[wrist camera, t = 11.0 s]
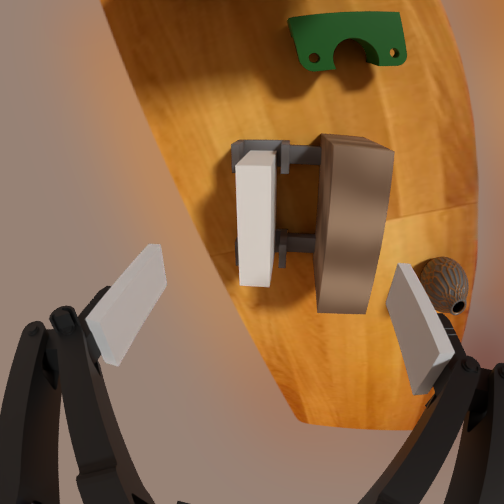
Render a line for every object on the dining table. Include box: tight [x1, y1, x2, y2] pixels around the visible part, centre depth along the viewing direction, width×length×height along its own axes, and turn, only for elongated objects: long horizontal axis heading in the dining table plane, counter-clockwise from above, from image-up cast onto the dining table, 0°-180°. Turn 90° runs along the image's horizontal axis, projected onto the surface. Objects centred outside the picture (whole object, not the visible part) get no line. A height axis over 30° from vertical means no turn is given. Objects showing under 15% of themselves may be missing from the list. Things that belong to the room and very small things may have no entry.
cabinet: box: [231, 134, 394, 314], centre depth 30 cm, size 16×14×11 cm
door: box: [235, 150, 277, 287], centre depth 31 cm, size 12×4×9 cm, turn 1°
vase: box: [420, 257, 468, 315], centre depth 32 cm, size 7×7×9 cm
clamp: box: [287, 11, 407, 71], centre depth 23 cm, size 12×6×9 cm, turn 97°
